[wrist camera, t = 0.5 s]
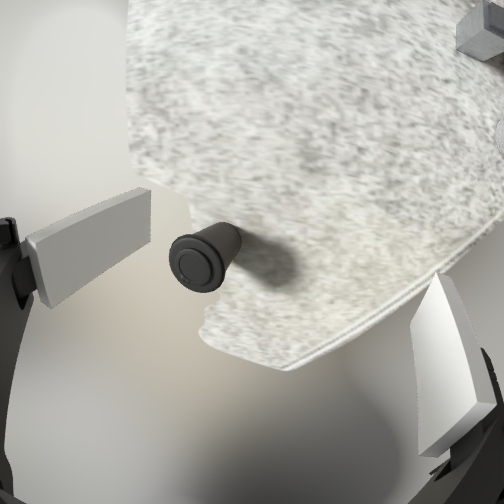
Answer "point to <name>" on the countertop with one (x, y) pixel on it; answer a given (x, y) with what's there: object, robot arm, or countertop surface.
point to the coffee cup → (204, 256)
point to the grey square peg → (481, 31)
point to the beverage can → (500, 136)
